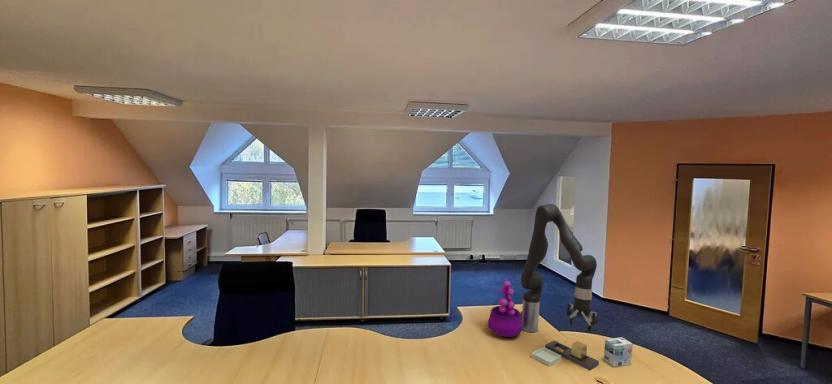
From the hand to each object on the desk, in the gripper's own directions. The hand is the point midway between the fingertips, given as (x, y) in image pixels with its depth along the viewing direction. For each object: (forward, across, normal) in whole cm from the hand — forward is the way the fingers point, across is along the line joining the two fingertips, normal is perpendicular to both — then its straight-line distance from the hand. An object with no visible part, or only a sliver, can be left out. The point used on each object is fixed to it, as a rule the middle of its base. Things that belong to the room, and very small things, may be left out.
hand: (580, 328), depth 179 cm
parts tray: (+16, -10, -12) cm, 22 cm away
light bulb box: (+16, +12, +14) cm, 25 cm away
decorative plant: (+16, -39, -8) cm, 43 cm away
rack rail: (+16, -4, 0) cm, 17 cm away
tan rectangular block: (+16, 0, 0) cm, 16 cm away
